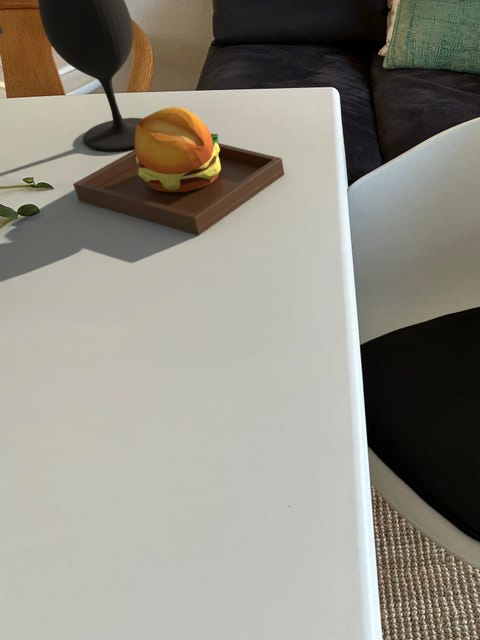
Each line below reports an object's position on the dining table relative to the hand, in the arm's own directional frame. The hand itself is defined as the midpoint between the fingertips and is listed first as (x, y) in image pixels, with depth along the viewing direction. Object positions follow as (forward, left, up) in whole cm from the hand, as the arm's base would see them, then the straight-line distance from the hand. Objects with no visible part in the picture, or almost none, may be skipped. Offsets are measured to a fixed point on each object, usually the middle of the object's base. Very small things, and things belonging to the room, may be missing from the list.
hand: (44, 12), depth 81 cm
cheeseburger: (+6, +7, -21) cm, 23 cm away
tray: (+6, +7, -22) cm, 24 cm away
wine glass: (-12, +15, -22) cm, 29 cm away
